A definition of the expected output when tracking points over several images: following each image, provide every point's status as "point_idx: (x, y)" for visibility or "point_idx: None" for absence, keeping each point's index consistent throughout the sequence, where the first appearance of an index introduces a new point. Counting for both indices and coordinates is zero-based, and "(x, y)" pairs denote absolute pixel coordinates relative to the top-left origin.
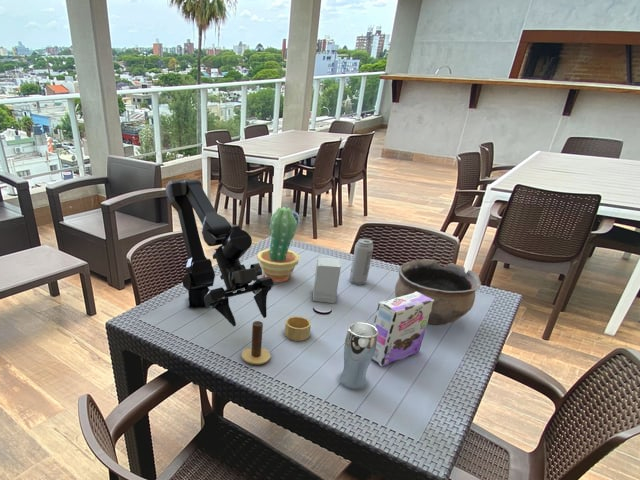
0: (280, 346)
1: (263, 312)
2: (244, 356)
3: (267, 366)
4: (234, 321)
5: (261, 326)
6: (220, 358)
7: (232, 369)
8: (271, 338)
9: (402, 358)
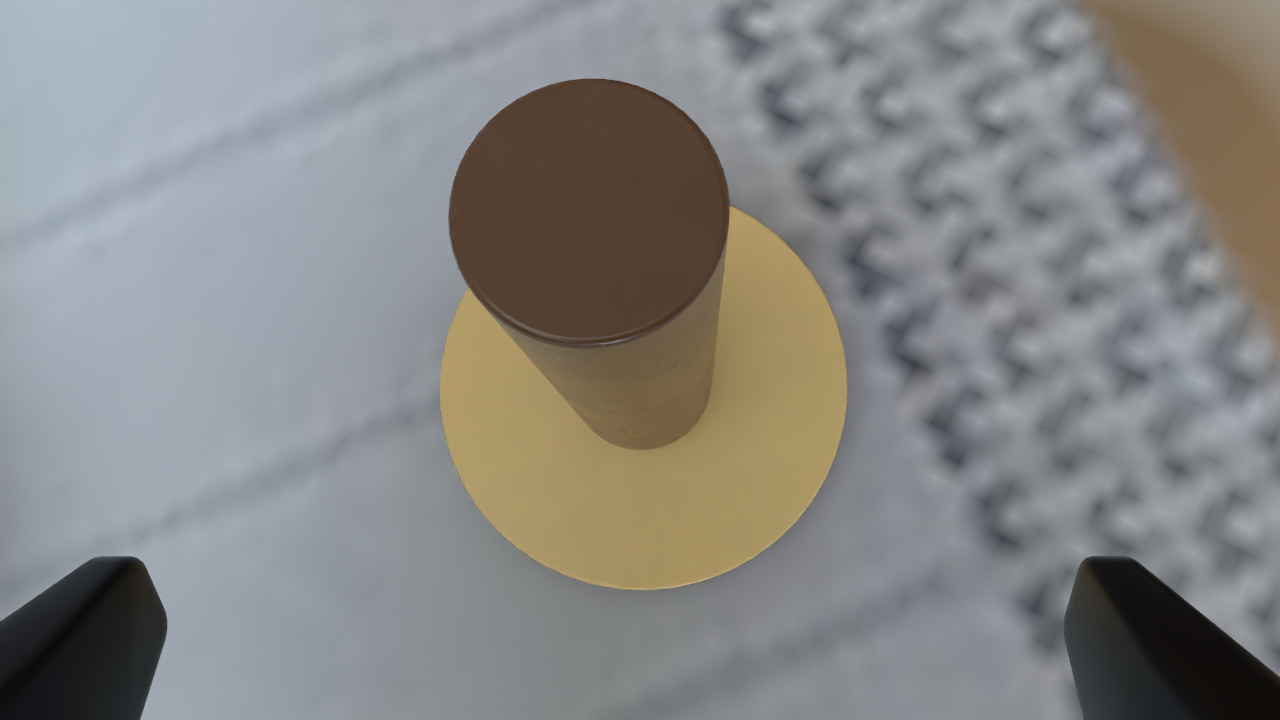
0: (190, 471)
1: (70, 671)
2: (815, 412)
3: None
4: (1156, 622)
5: (559, 90)
6: None
7: (1052, 310)
8: (164, 715)
9: None
